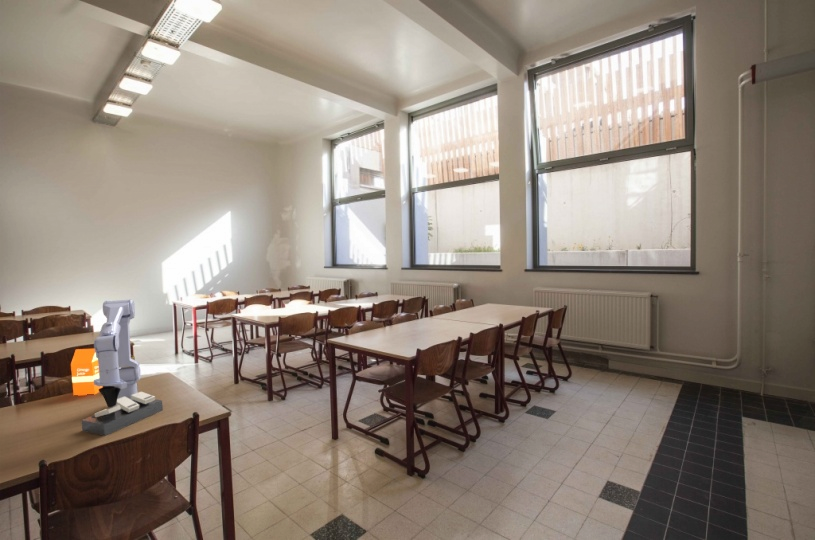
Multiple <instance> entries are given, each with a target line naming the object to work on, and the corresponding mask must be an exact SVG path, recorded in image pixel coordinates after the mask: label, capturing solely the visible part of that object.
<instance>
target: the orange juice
mask: <svg viewBox="0 0 815 540" xmlns="http://www.w3.org/2000/svg"><path fill="white" fill-rule="evenodd" d="M70 370H71V383H72V390H73V391H72V393H73V396H74V395H78V396H88V395H87V394H94V395H96V394H99V393H100V392H99V390H98V389H100V388H102V387H103V386H101V387H98V386H97V385H94V380H95V379H98V378H99V367H98V358H96V352H95V349H94V348H82V349H81V348H80V349H79V348H78V349H75V351H74V354H73V357H72V360H71V363H70Z"/></svg>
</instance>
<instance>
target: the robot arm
mask: <svg viewBox="0 0 815 540" xmlns="http://www.w3.org/2000/svg"><path fill="white" fill-rule="evenodd" d="M135 308H136V307H135V300H134V299H131V298H130V299H119V300H118V299H117V300H105V301H104V302H103V303H102V313H103V315H104V316H105V317H106V322H104V323H103V324H102V325H101V329H100V332H99V335H98V336H97V337H95V339H94V340H93V349H95V352H96V358H98V367H99V378H98V379H95V380H94V385H97V386H98V387H101V386H103V387H102V388H100V389H98V390H99V392H98V393H100V394H101V396H102V398H103V399H104V401H105V403H106V406H107V407H108V408H111V407H113V406H116V403H117V399H119V398H122V397H124V396H125V397H127V398H129V399H130V400H132V399H131V395H133V394H135V393H138V386H137V384H138V381H140V380H141V367H140V363H139V361H136V360H133V359H131V356H132V354H131V338H130V337H131V335H130V334H131V333H130V322H131V320H133V319H134V318H135V316H136V309H135ZM129 366H132V367H129ZM122 367H127V368H122Z"/></svg>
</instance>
